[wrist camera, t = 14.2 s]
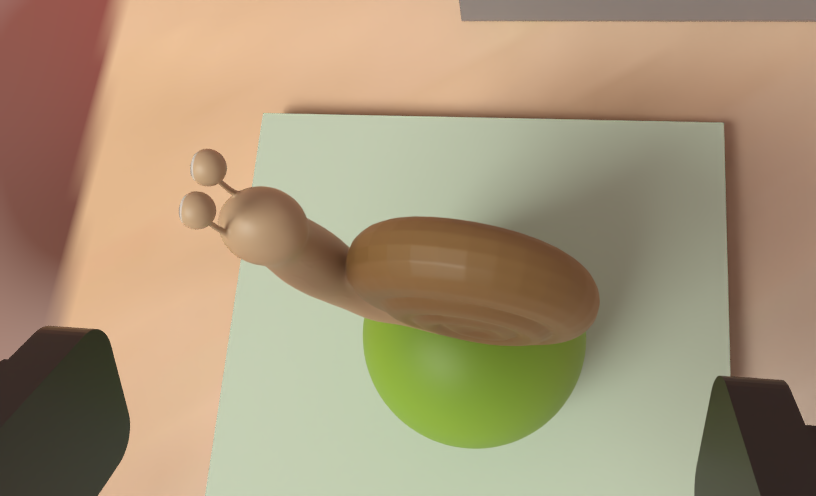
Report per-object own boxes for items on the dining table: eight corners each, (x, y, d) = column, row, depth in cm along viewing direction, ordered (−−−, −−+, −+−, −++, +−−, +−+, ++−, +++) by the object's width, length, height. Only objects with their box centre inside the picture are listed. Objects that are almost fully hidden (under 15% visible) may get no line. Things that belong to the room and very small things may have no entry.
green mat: (715, 136, 24) (724, 122, 23) (726, 642, 20) (737, 651, 19) (272, 126, 26) (263, 113, 25) (205, 581, 22) (191, 585, 21)
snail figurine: (368, 242, 23) (221, 11, 12) (588, 271, 22) (664, 47, 11) (331, 427, 22) (125, 370, 10) (565, 468, 21) (623, 456, 9)
